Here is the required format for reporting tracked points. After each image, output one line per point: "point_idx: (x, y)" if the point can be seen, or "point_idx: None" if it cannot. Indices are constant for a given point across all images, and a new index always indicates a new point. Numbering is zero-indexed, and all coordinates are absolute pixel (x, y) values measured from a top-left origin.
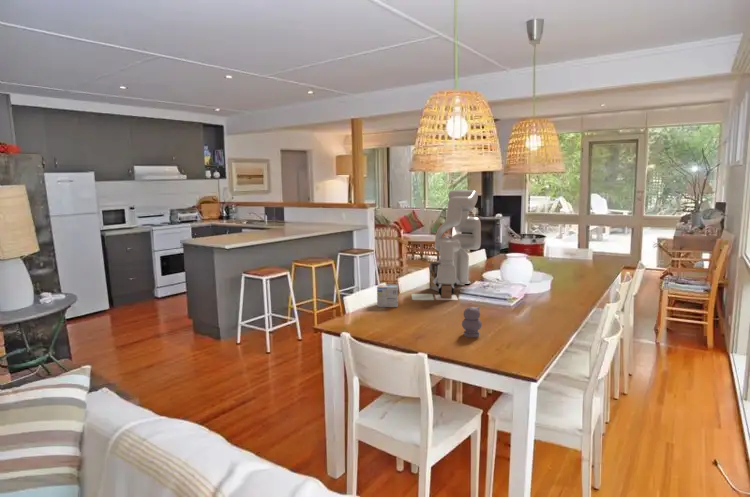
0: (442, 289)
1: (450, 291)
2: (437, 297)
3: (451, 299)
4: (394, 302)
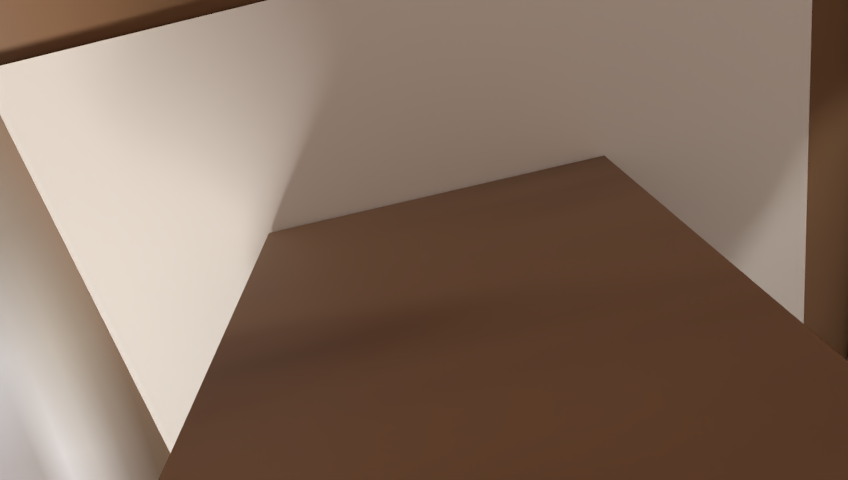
0: (733, 322)
1: (263, 357)
2: (732, 237)
3: (239, 86)
4: None
